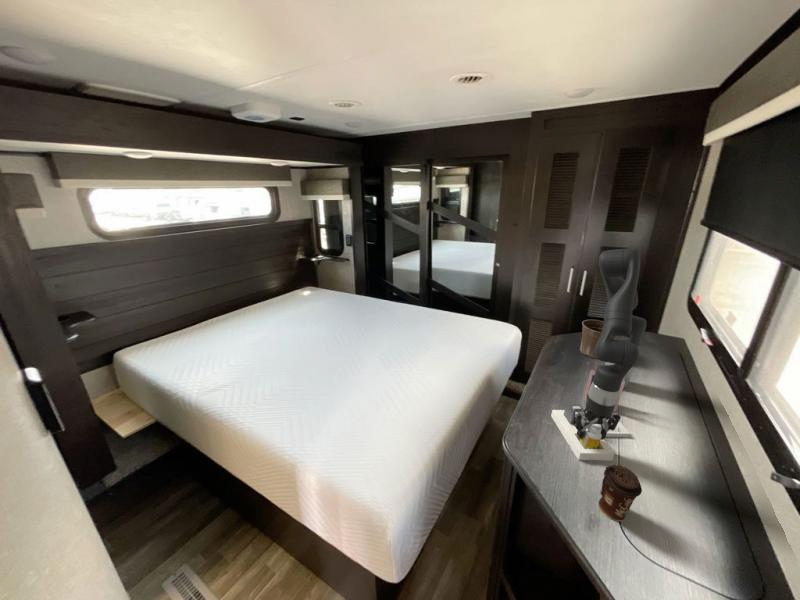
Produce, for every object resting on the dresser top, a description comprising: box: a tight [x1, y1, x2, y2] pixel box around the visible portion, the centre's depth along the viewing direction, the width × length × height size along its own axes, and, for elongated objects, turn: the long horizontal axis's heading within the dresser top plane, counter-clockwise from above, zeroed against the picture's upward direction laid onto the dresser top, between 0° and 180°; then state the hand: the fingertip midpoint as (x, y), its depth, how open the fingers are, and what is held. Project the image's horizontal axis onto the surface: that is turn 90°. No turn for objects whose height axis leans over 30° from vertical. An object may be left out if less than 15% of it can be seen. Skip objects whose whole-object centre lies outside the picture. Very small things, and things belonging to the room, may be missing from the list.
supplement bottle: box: [579, 424, 602, 449], centre depth 102 cm, size 5×5×10 cm
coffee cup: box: [598, 464, 643, 522], centre depth 82 cm, size 9×8×13 cm
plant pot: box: [579, 319, 617, 360], centre depth 159 cm, size 16×16×16 cm
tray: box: [605, 421, 631, 438], centre depth 113 cm, size 12×12×2 cm
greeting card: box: [582, 369, 625, 412], centre depth 122 cm, size 11×7×15 cm, turn 47°
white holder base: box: [551, 403, 616, 462], centre depth 107 cm, size 11×20×9 cm, turn 179°
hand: (590, 437), depth 102 cm, fingers open, 6 cm apart
